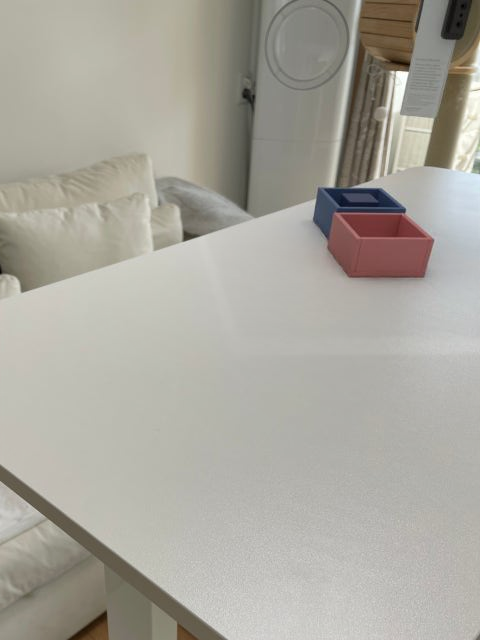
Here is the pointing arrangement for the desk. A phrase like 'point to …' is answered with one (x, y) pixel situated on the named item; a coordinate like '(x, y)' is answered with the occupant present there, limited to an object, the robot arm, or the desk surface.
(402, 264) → the rose bin
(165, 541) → the desk surface
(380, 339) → the desk surface
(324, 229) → the blue bin
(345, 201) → the navy block
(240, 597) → the desk surface
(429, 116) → the cosmetic box
